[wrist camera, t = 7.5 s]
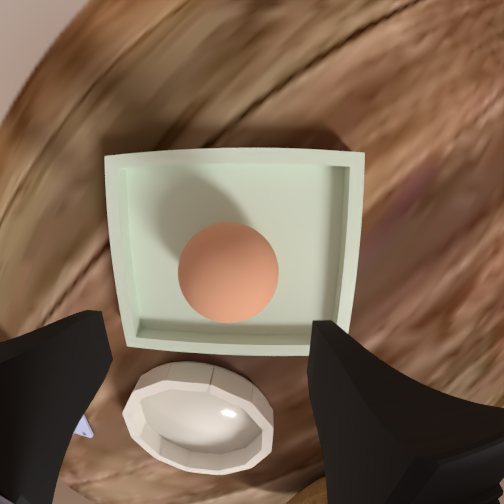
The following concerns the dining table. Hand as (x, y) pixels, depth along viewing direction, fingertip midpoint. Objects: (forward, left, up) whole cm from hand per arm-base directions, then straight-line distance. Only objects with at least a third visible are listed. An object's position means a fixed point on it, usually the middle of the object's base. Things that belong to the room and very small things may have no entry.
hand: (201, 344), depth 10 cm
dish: (-3, -14, -9) cm, 17 cm away
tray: (0, 0, -9) cm, 9 cm away
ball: (0, 0, -9) cm, 9 cm away
